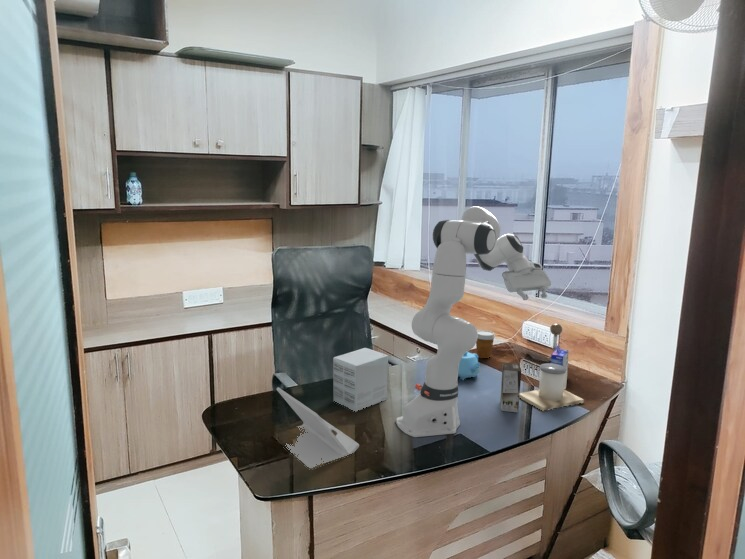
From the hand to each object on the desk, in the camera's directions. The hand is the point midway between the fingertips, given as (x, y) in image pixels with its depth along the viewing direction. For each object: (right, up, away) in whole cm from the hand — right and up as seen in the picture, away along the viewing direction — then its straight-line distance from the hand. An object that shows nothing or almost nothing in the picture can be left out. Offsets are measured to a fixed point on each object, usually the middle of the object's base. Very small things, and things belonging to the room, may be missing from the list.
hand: (535, 298), depth 206 cm
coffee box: (-13, -41, -11) cm, 44 cm away
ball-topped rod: (+5, -19, -8) cm, 21 cm away
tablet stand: (-84, -46, -40) cm, 103 cm away
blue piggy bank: (-26, -35, +19) cm, 47 cm away
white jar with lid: (+4, -38, -4) cm, 39 cm away
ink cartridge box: (+15, -36, +18) cm, 43 cm away
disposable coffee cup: (-11, -30, +45) cm, 55 cm away
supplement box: (-70, -39, -7) cm, 80 cm away
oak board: (+4, -39, -4) cm, 40 cm away
